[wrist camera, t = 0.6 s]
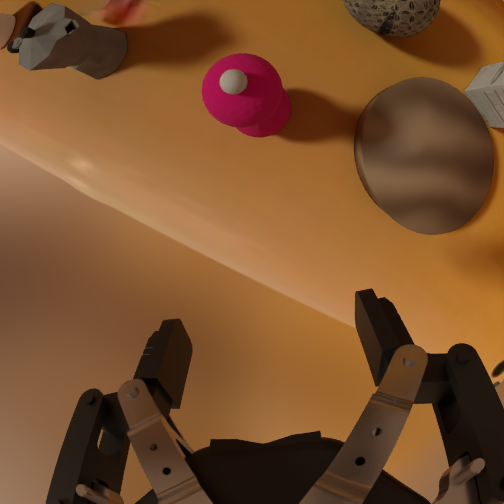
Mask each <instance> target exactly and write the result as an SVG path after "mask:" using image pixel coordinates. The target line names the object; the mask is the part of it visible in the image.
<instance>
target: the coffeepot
mask: <svg viewBox="0 0 504 504" xmlns="http://www.w3.org/2000/svg"><path fill="white" fill-rule="evenodd" d="M7 50H8V51H9V52H10V53H19V64H20V65H21V66H23V67H25V68H27V69H28V70H30V71H31V70H41V69H54V68H66V67H67V66H69V67H72V68H74V69H76V70H78V71H80V72H83V73H85V74H87V75H89V76H91V77H93V78H95V79H97V80H98V79H100V78H102V77H104V76H107V75H109V74H110V73H112V72H114V71H115V70H116V69H117V68H118V66H119V65H120V64H121V62H122V61H123V59H124V57H125V54H126V52H127V39H126V34H125V33H124V32H121V31H118V30H116V29H113V28H109V27H104V26H97V25H91V24H90V23H89V22H88V21H86V20H85V19H83V18H82V17H81V16H79V15H78V14H76V13H75V12H73V11H72V10H70V9H69V8H67V7H66V6H62V5H57V4H52V3H51V4H50V5H48V6H47V7H46V8H44V9H43V10H42V11H41V12H39V13H38V14H37V15H36V16H35V17H34V18H32V20H31V22H30V24H29V26H28V27H27V26H26V27H25V28H24V29H23V30H22V32H21V34H20V37H19V38H17V39H15V41H11V42H10V43H9V44H8V46H7Z"/></svg>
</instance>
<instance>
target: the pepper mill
mask: <svg viewBox="0 0 504 504" xmlns="http://www.w3.org/2000/svg"><path fill="white" fill-rule="evenodd" d="M202 97H203V101H204V104H205V106H206V108H207V110H208V111H209V113H210V114H211V115H212V116H213V117H214V118H216V119H217V120H218V121H220V122H221V123H223V124H226V125H229V126H232V127H236V128H237V129H238V130H239V131H240V132H242V133H244V134H246V135H248V136H252V137H266V136H270V135H273V134H275V133H277V132H278V131H279V130H281V129H282V128H283V127H284V125H285V124H286V123H287V121H288V119H289V116H290V112H291V103H290V99H289V96H288V94H287V93H286V91H285V90H284V89H283V87H282V83H281V79H280V76H279V74H278V73H277V71H276V70H275V68H274V67H273V66H272V65H271V64H270V63H269V62H267V61H266V60H264V59H263V58H261V57H258V56H256V55H252V54H246V53H239V54H233V55H230V56H227V57H224V58H222V59H221V60H219V61H218V62H216V63H215V64H214V65H213V66H212V67H211V68H210V69H209V71H208V72H207V74H206V76H205V78H204V80H203V84H202Z"/></svg>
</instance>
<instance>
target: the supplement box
mask: <svg viewBox="0 0 504 504" xmlns="http://www.w3.org/2000/svg"><path fill="white" fill-rule="evenodd" d="M464 92H465V93H466V95H467V96H468V97H469V99H470V100H471V101H472V103H473V104H474V105H475V107H476V108H477V109H478V111H479V112H480V114H481V115H482V116H483V118H484V119H485V121H486V122H487V124H488V125H489V126H490V127H496V128H504V62H500V63H496V64H492V65H488V66H484V67H482V68H481V69H480V71H479V73H478V74H477V75H476V77H475V78H474V80H473V81H472V82H471V83H470V85H469V86H468V87H467V88H466V89H465V90H464Z"/></svg>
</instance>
